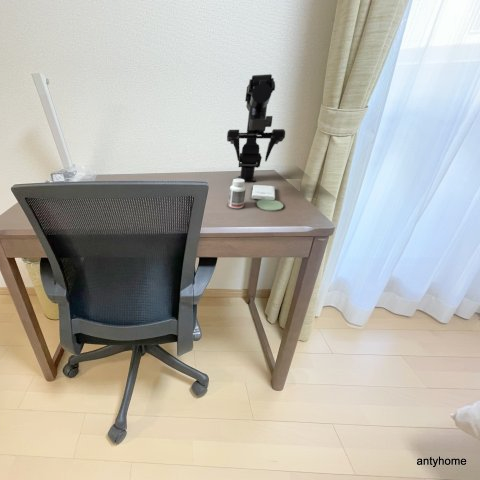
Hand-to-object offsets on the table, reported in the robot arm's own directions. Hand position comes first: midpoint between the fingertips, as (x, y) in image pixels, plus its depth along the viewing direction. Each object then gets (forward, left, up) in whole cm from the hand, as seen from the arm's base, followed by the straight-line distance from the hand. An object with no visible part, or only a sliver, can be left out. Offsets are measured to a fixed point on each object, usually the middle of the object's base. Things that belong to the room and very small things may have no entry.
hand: (252, 161), depth 91 cm
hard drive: (-4, +7, -15) cm, 17 cm away
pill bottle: (+6, -5, -15) cm, 17 cm away
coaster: (+6, +7, -15) cm, 17 cm away
